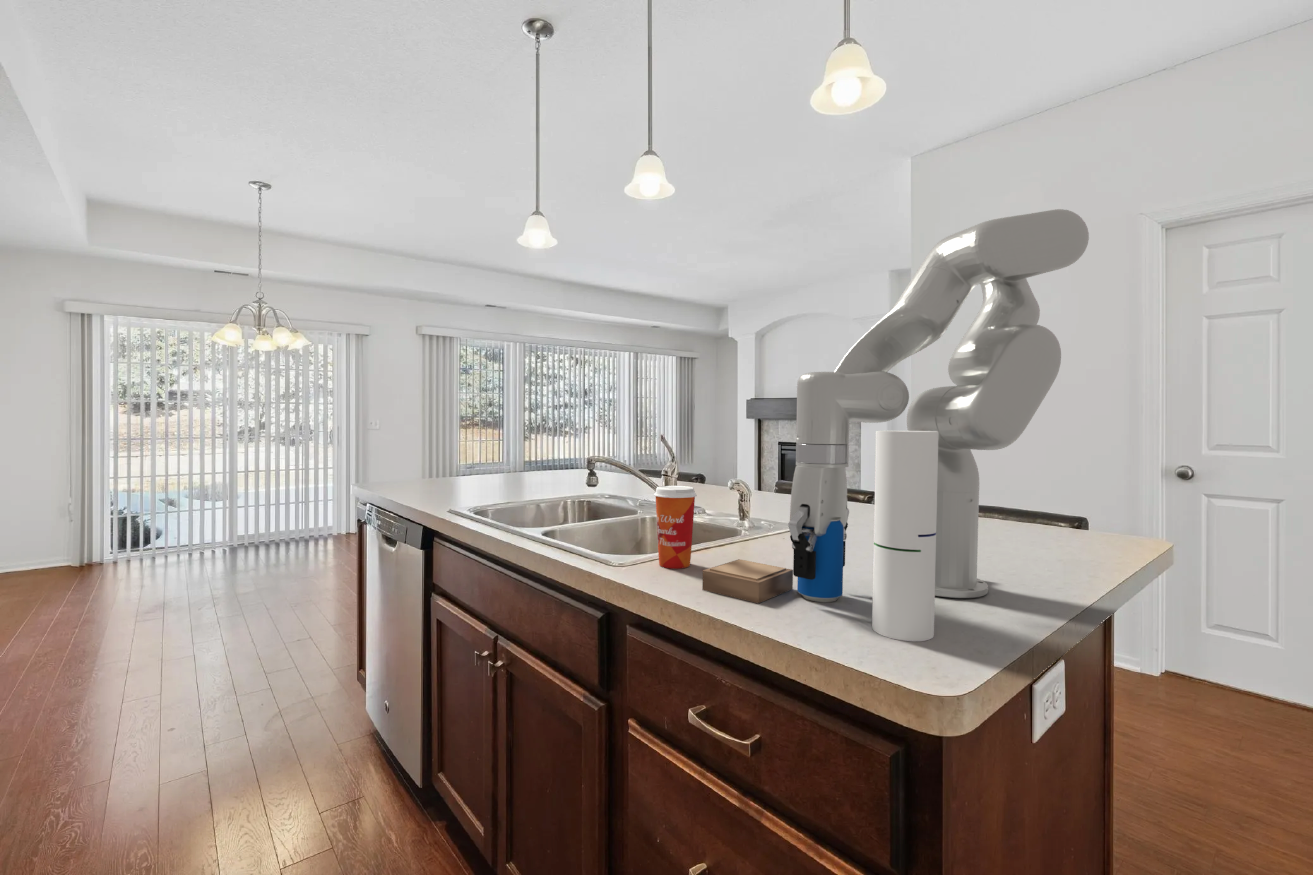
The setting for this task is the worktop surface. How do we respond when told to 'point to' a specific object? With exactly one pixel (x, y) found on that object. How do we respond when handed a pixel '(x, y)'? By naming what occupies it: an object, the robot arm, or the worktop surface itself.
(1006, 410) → the robot arm
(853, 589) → the worktop surface
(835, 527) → the beverage can
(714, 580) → the plinth
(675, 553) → the paper cup
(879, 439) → the cylindrical container
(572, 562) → the worktop surface
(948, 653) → the worktop surface
